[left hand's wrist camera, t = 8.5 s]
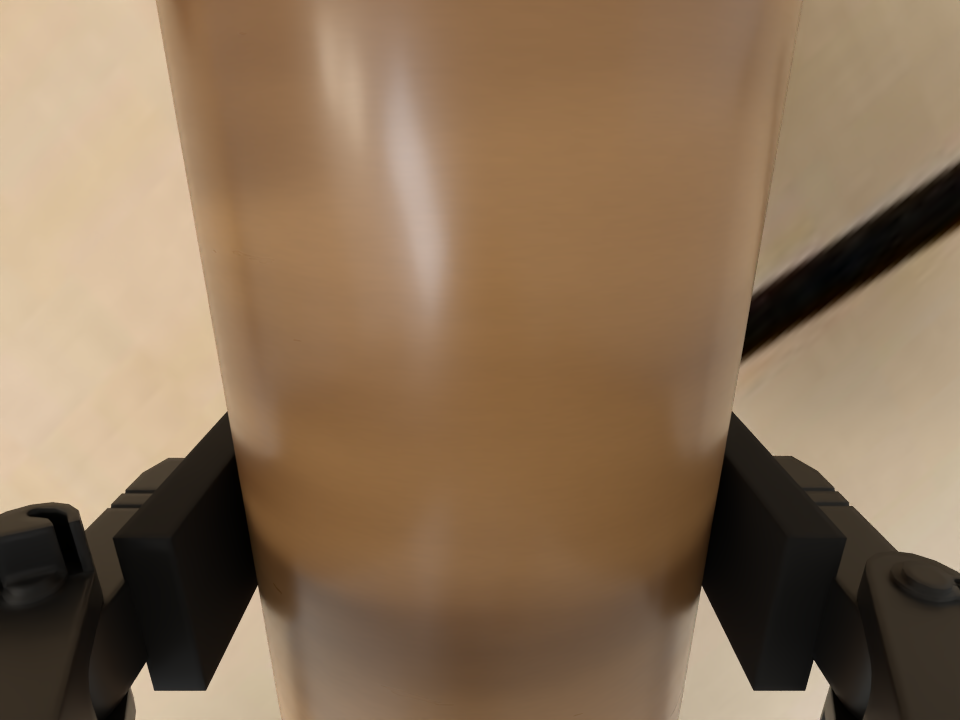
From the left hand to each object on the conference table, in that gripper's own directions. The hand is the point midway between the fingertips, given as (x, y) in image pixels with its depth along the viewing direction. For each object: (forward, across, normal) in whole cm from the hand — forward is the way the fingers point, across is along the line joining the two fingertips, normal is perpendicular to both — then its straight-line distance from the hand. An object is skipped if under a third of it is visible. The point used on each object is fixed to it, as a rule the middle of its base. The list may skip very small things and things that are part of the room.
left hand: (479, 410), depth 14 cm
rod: (+1, 0, -10) cm, 10 cm away
